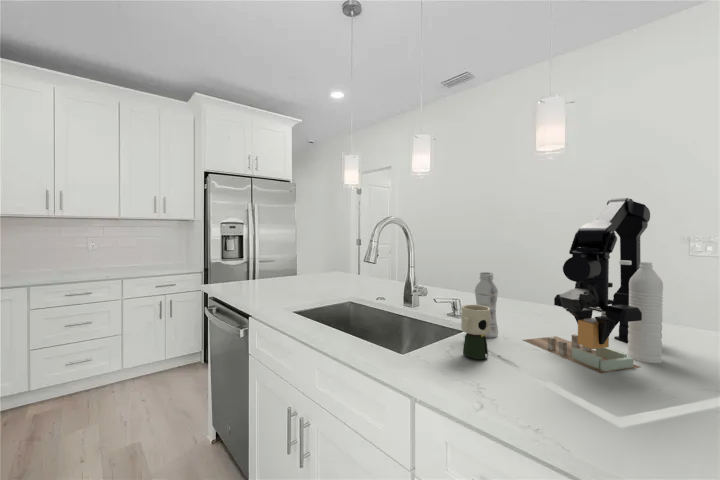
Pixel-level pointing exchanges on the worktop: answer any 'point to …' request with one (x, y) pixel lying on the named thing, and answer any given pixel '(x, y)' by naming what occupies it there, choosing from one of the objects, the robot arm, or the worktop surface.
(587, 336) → the orange upright block
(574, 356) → the bracket
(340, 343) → the worktop surface
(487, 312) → the character mug
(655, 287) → the water bottle
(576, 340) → the board
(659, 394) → the worktop surface
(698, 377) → the worktop surface
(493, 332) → the plastic bottle
